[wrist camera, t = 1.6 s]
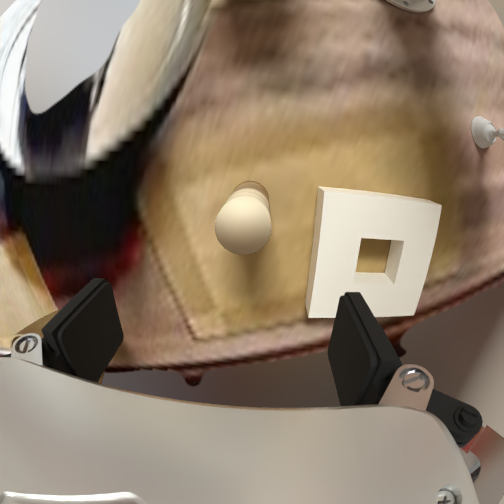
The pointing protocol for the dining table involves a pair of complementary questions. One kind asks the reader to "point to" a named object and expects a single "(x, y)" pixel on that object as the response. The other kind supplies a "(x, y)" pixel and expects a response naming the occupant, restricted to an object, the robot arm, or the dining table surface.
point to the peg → (244, 219)
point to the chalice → (485, 132)
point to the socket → (348, 243)
